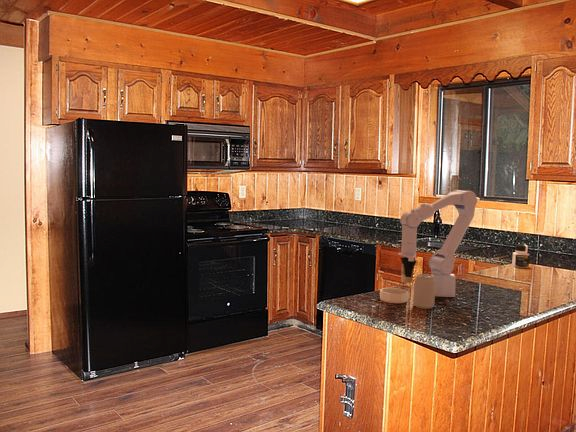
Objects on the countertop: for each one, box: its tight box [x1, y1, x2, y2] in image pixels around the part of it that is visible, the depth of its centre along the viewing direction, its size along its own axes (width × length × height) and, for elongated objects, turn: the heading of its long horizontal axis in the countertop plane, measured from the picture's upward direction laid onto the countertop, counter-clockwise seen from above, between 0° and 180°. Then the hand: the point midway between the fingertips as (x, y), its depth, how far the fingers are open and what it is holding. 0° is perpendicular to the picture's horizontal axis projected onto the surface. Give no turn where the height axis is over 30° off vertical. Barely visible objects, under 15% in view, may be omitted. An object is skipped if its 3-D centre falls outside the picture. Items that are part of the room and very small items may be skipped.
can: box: [413, 273, 436, 310], centre depth 204 cm, size 8×8×12 cm
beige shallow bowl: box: [379, 287, 409, 304], centre depth 214 cm, size 10×10×4 cm
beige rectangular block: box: [400, 263, 413, 284], centre depth 220 cm, size 4×2×7 cm, turn 86°
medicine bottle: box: [511, 243, 531, 269], centre depth 295 cm, size 7×7×12 cm
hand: (407, 276), depth 220 cm, fingers closed on beige rectangular block, 2 cm apart
